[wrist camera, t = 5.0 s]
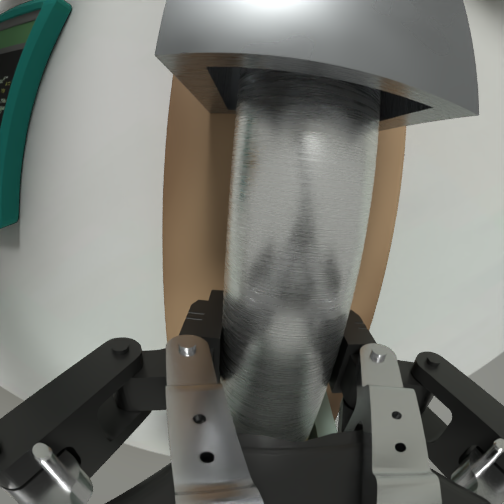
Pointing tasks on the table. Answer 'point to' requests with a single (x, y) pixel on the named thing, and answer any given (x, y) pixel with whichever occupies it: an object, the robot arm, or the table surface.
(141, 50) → the table surface
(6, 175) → the digital multimeter
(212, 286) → the board
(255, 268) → the tube
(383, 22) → the sleeve
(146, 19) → the table surface
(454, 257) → the table surface
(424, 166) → the table surface
